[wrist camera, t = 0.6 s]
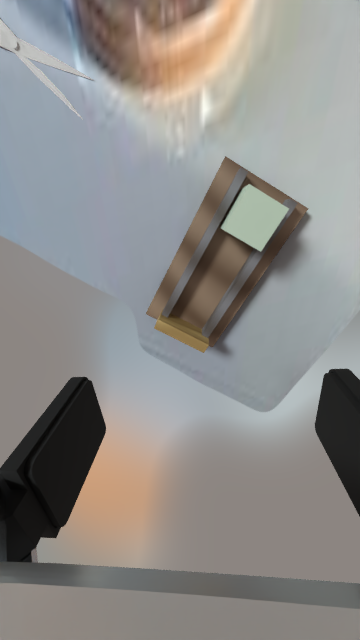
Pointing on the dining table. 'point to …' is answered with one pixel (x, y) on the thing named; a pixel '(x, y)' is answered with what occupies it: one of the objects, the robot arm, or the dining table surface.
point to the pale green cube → (253, 217)
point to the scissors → (7, 40)
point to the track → (217, 263)
